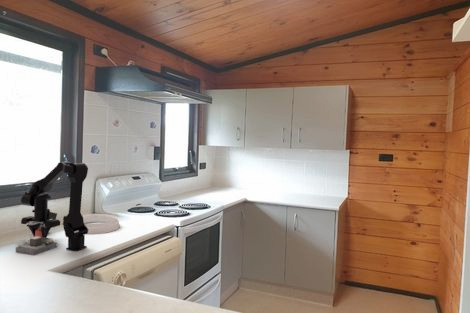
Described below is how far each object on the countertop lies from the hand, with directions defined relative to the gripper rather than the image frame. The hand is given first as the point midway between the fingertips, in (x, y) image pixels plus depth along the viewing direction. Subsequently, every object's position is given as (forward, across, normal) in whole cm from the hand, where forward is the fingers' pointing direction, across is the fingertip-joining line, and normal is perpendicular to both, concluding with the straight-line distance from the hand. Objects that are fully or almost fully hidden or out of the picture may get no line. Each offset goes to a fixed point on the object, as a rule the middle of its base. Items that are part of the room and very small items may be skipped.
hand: (40, 239), depth 176 cm
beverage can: (+1, +11, -12) cm, 16 cm away
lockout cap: (+1, 0, 0) cm, 1 cm away
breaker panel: (+1, -8, +10) cm, 13 cm away
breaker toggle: (-1, -11, +13) cm, 17 cm away
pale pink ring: (+2, -5, -33) cm, 33 cm away
